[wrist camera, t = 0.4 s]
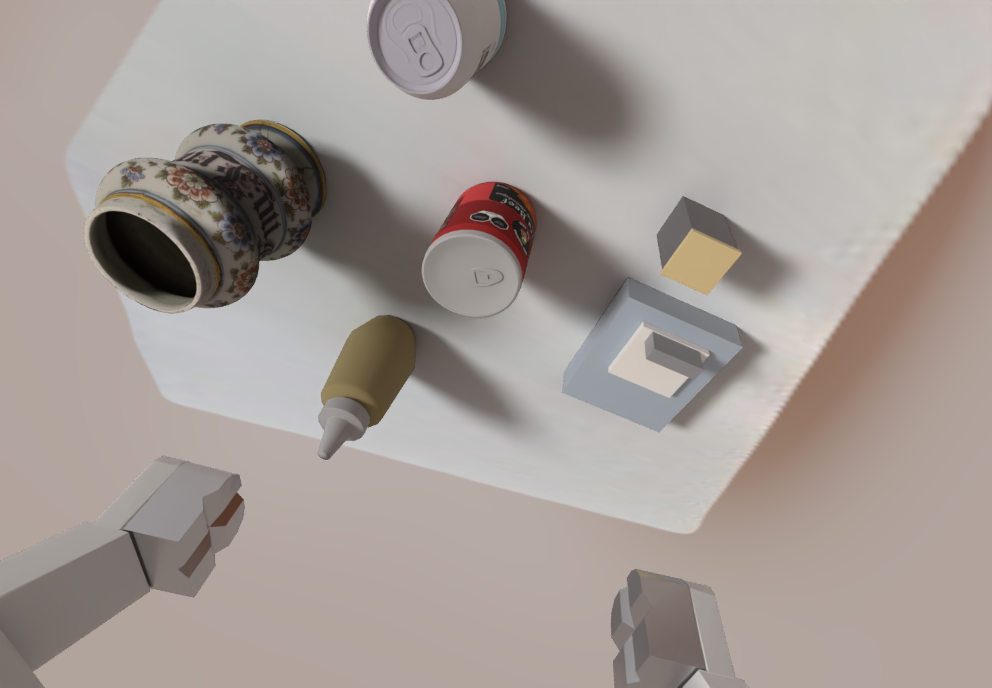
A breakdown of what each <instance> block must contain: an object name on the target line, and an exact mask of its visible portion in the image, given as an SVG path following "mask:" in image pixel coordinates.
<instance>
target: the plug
mask: <svg viewBox="0 0 992 688" xmlns="http://www.w3.org/2000/svg"><path fill="white" fill-rule="evenodd" d="M657 239H658V246H659V252H660V258H661V265H662V270H661V275H663V276H665V277H668V278H670V279H672V280H674V281H677V282H679V283H681V284H683V285H685V286H688V287H690V288H692V289H694V290H697V291H699V292H701V293H703V294H706V295H708V294H709V292H710V291H711V290H712V289H713V288H714V287H715V285H716V284H717V283H718V282H719V281H720V279H721V278H722V277H723V276H724V275H725V273H726V272H727V271H728V270H729V269H730V267H731V266H732V265H733V264H734V263H735V261H736V260H737V259H738V258H739V257H740V255H741V254H742V252H741V250H739V249H738V248H737V246H736V243H735V241H734V239H733V236H732V234H731V231H730V229H729V226H728V224H727V222H726V219H725V217H724V215H722V214H720V213H718V212H716V211H714V210H712V209H710V208H707V207H705V206H703V205H701V204H699V203H697V202H695V201H692V200H690V199H688V198H686V197H684V196H683V197H682V198H681V200H680V201H679V203H678V204H677V206H676V207H675V209H674V210H673V212H672V213H671V214H670V216H669V217H668V219H667V220H666V222H665V223H664V225H663V226H662V228H661V229H660V231H659V232H658V234H657Z"/></svg>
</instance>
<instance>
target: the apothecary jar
mask: <svg viewBox="0 0 992 688" xmlns="http://www.w3.org/2000/svg"><path fill="white" fill-rule="evenodd" d="M325 197H326V181H325V176H324V172H323V169H322V167H321V164H320V162H319V160H318V158H317V157H316V155H315V153H314V152H313V151H312V149H311V148H310V147H309V146H308V144H307V143H306V142H305V141H304V140H303V139H302V138H301V137H299V136H298V135H297V134H296V133H294V132H293V131H291V130H290V129H288V128H286V127H284V126H282V125H280V124H278V123H275V122H272V121H268V120H254V121H249V122H247V123H244V124H242V125H241V126H237V125H232V124H212V125H208V126H204V127H202V128H199V129H197V130H195V131H194V132H192V133H191V134H190V135H188V136H187V137H186V138H185V139H184V140H183V142H182V143H181V145H180V146H179V148H178V150H177V153H176V156H175V160H174V161H168V160H164V159H158V158H137V159H132V160H128V161H125V162H123V163H121V164H119V165H117V166H115V167H114V168H113V169H111V170H110V171H109V172H108V173H107V174H106V175H105V177H104V178H103V180H102V181H101V183H100V185H99V187H98V190H97V194H96V201H95V209H94V210H93V211H92V212H91V213H90V214H89V216H88V217H87V219H86V222H85V226H84V238H85V244H86V248H87V251H88V252H89V255H90V257H91V259H92V261H93V262H94V264H95V265H96V267H97V268H98V270H99V271H100V272H101V273H102V275H103V276H104V277H105V278H106V279H107V280H108V281H109V282H110V283H111V284H112V285H113V286H114V287H116V288H117V289H118V290H119V291H120V292H122V293H123V294H124V295H126V296H128V297H129V298H131V299H132V300H134V301H136V302H138V303H140V304H141V305H144V306H146V307H148V308H150V309H153V310H156V311H160V312H164V313H180V312H185V311H187V310H190V309H192V308H194V307H198V308H217V307H223V306H226V305H229V304H232V303H234V302H236V301H238V300H239V299H241V298H242V297H243V296H245V295H246V294H247V293H248V292H249V290H250V289H251V288H252V286H253V285H254V283H255V281H256V278H257V275H258V270H259V261H269V260H276V259H280V258H283V257H286V256H288V255H290V254H292V253H293V252H295V251H296V250H297V249H298V248H299V247H300V246H301V245H302V244H303V243H304V241H305V240H306V238H307V236H308V234H309V231H310V228H311V223H312V217H314V216H315V215H316V214H317V213H318V212H319V211H320V209H321V208H322V206H323V204H324V201H325Z"/></svg>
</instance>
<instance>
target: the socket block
mask: <svg viewBox="0 0 992 688" xmlns="http://www.w3.org/2000/svg"><path fill="white" fill-rule="evenodd" d="M643 321H644V322H646V323H648V324H650V325H653V326H655V327H657V328H660V329H662V330H664V331H667V332H669V333H671V334H673V335H676V336H678V337H680V338H683V339H685V340H687V341H689V342H692V343H694V344H696V345H699V346H701V347H703V348H706V349H708V350H709V354H710V355H709V356H708V357H707V358H706V359H705V361H704V362H703V363H702V365H703V369H704V370H703V371H702V372H701V373H700V374H699V375H698V376H697V377H696V378H695V379H694V380H693V379H691V378H688V379H687V380H686V381H685V382H684V383H683V384H682V385H681V386H680V387H679V388H678V389H677V390H676V392H675V393H674V394H673V395H672V396H671V397H670V398H668V397H666V396H663V395H661V394H658V393H656V392H654V391H651V390H649V389H647V388H644V387H642V386H639V385H637V384H635V383H632V382H630V381H628V380H625V379H623V378H620V377H618V376H616V375H613V374H611V373H609V372H608V367H609V366H610V364H611V363H612V362H613V361H614V359H615V358H616V357H617V355H618V354H619V353H620V351H621V350H622V349H623V347H624V346H625V345H626V343H627V342H628V341H629V339H630V338H631V337H632V335H633V334H634V333H635V332H636V330H637V329H638V328H639V326H640V325H641V324H642V322H643ZM742 348H743V346H742V343H741V340H740V337H739V334H738V331H737V328H736V325H734V324H732V323H729V322H727V321H725V320H723V319H720V318H718V317H716V316H714V315H711V314H709V313H707V312H705V311H702V310H700V309H698V308H696V307H693V306H691V305H689V304H687V303H684V302H682V301H680V300H678V299H675V298H673V297H671V296H669V295H666V294H664V293H662V292H660V291H657V290H655V289H653V288H651V287H648V286H646V285H644V284H642V283H639V282H637V281H635V280H633V279H630V278H627V280H626V281H625V283H624V284H623V286H622V287H621V289H620V290H619V292H618V293H617V294H616V296H615V297H614V299H613V300H612V302H611V303H610V305H609V306H608V308H607V309H606V311H605V312H604V314H603V315H602V317H601V318H600V320H599V321H598V322H597V324H596V325H595V327H594V328H593V330H592V331H591V333H590V334H589V336H588V337H587V339H586V340H585V342H584V343H583V345H582V346H581V348H580V349H579V351H578V352H577V353H576V355H575V356H574V358H573V359H572V361H571V362H570V364H569V365H568V367H567V368H566V370H565V371H564V380H563V389H562V393H565V394H567V395H570V396H572V397H575V398H577V399H579V400H582V401H584V402H587V403H589V404H592V405H594V406H596V407H599V408H601V409H604V410H606V411H608V412H611V413H613V414H616V415H618V416H621V417H623V418H625V419H628V420H630V421H633V422H635V423H638V424H640V425H642V426H645V427H647V428H650V429H652V430H654V431H657V432H660V431H661V430H662V429H663V428H664V427H665V426H666V425H667V424H668V423H669V422H670V421H671V420H672V419H673V418H674V417H675V416H676V415H677V414H678V413H679V412H680V411H681V410H682V409H683V408H684V407H685V406H686V405H687V404H688V403H689V402H690V401H691V400H692V399H693V398H694V397H695V395H696V394H697V393H698V392H699V391H700V390H701V389H702V388H703V387H704V386H705V385H706V384H707V383H708V382H709V381H710V380H711V379H712V378H713V377H714V376H715V375H716V374H717V373H718V372H719V371H720V370H721V369H722V368H723V367H724V366H725V365H726V364H727V363H728V362H729V361H730V360H731V359H732V358H733V357H734V356H735V355H736V354H737V353H738V352H739V351H740V350H741V349H742Z"/></svg>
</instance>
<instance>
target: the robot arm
mask: <svg viewBox="0 0 992 688" xmlns="http://www.w3.org/2000/svg"><path fill="white" fill-rule="evenodd" d="M240 487H241V480H240V476H239V475H238V474H235V473H230V472H227V471H223V470H219V469H214V468H211V467H207V466H203V465H199V464H195V463H191V462H189V461H184V460H180V459H176V458H172V457H167V456H161V457H160V458H158V459H156V460H154V461H153V462H151V464H150V465H149V466H148V467H147V468H146V469H145V470H144V471H143V472H142V473H141V474H140V475H139V476H138V477H137V478H136V479H135V480H134V481H133V482H132V483H131V484H130V485H129V486H128V487H127V488H126V489H125V490H124V491H123V492H122V493H121V494H120V495H119V496H118V498H117V499H116V500H115V501H114V502H113V503H112V504H111V505H110V506H109V507H108V508H107V509H106V510H105V511H104V512H103V513H102V514H101V515H100V516H99V517H98V518H97V519H96V520H95V521H94V522H93V523H90V522H83V523H81V524H79V525H76V526H74V527H72V528H70V529H68V530H66V531H63V532H61V533H59V534H57V535H55V536H53V537H50V538H48V539H46V540H44V541H42V542H39V543H37V544H35V545H33V546H31V547H29V548H26V549H24V550H22V551H20V552H18V553H16V554H14V555H11V556H9V557H7V558H5V559H3V560H0V688H45V687H44V686H43V685H42V683H41V682H40V681H39V680H38V678H37V677H36V675H35V674H34V673H33V671H35V670H36V669H38V668H39V667H40V666H42V665H43V664H45V663H46V662H48V661H49V660H50V659H52V658H54V657H55V656H56V655H58V654H59V653H61V652H62V651H64V650H65V649H67V648H68V647H69V646H71V645H72V644H74V643H75V642H77V641H78V640H80V639H81V638H83V637H84V636H86V635H87V634H89V633H90V632H91V631H93V630H94V629H96V628H97V627H99V626H100V625H102V624H103V623H105V622H106V621H107V620H109V619H110V618H112V617H113V616H115V615H116V614H118V613H119V612H121V611H122V610H124V609H125V608H126V607H128V606H129V605H131V604H132V603H134V602H135V601H137V600H138V599H139V598H141V597H143V596H144V595H145V594H147V593H148V592H150V588H151V589H156V590H161V591H166V592H170V593H175V594H180V595H185V596H190V597H195V596H196V594H197V593H198V591H199V590H200V588H201V586H202V585H203V584H204V582H205V581H206V579H207V578H208V576H209V575H210V573H211V572H212V570H213V568H214V567H215V553H217V552H218V551H220V550H222V549H223V548H225V547H227V546H229V544H230V543H231V541H232V540H233V538H234V537H235V535H236V533H237V532H238V529H239V527H240V524H241V522H242V519H243V516H244V508H245V506H244V499H243V498H242V497H241V496H240V495H239V494H238V493H237V491H238V490H239V488H240ZM627 582H628V583H627V584H628V587H626V588H623V589H621V590H619V592H618V594H617V596H616V598H615V600H614V604H613V608H612V613H611V637H612V639H613V640H614V642H615V644H616V645H617V647H618V649H619V650H620V652H619V653H618V655H617V656H616V658H615V659H614V661H613V669H614V685H615V688H749V687H748V686H747V684H746V683H745V682H744V680H742V679H738V678H736V677H735V673H734V669H733V665H732V661H731V658H730V654H729V650H728V646H727V642H726V638H725V634H724V630H723V626H722V622H721V618H720V614H719V610H718V606H717V602H716V598H715V594H714V592H713V591H712V589H711V588H710V587H708V586H706V585H702V584H697V583H693V582H688V581H684V580H682V579H679V578H674V577H669V576H665V575H661V574H656V573H652V572H647V571H642V570H638V569H635V570H632V571H631V572H630V574H629V576H628V577H627Z"/></svg>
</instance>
